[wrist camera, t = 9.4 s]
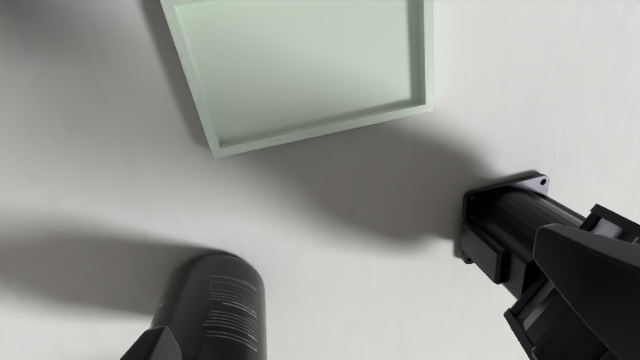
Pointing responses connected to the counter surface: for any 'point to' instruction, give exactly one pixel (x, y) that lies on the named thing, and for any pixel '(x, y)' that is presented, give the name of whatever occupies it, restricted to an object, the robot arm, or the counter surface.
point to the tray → (301, 66)
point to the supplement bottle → (215, 309)
